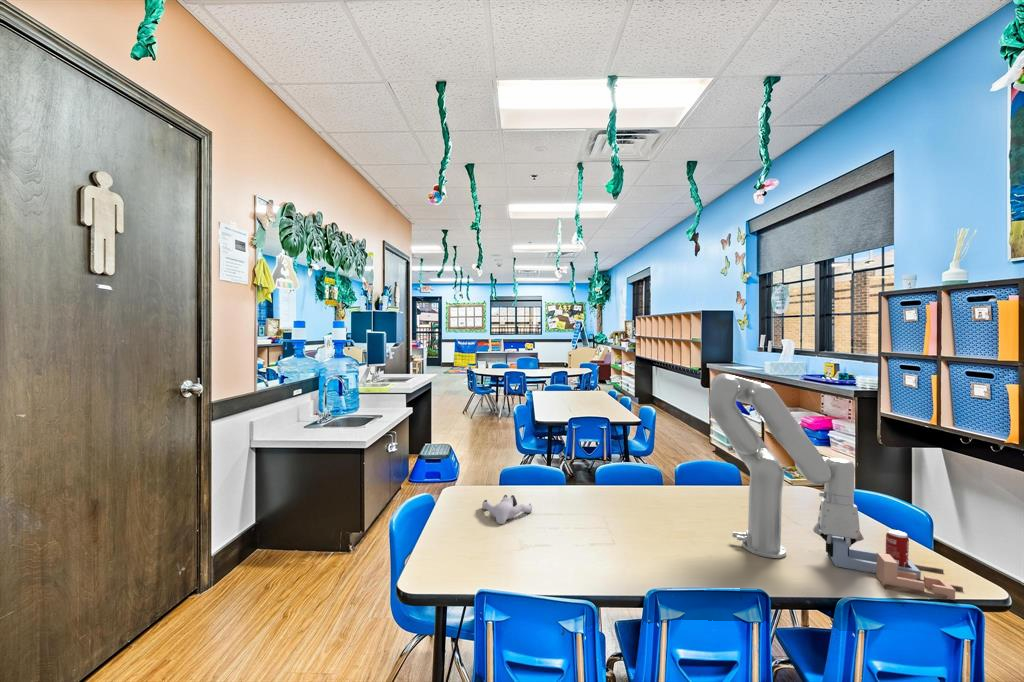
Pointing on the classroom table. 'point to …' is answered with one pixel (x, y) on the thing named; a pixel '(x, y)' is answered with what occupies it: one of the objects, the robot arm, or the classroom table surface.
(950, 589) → the broken frame end
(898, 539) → the soda can
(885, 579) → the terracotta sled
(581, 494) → the classroom table surface
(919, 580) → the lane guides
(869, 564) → the frame
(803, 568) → the classroom table surface
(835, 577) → the classroom table surface
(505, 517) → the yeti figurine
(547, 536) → the classroom table surface
